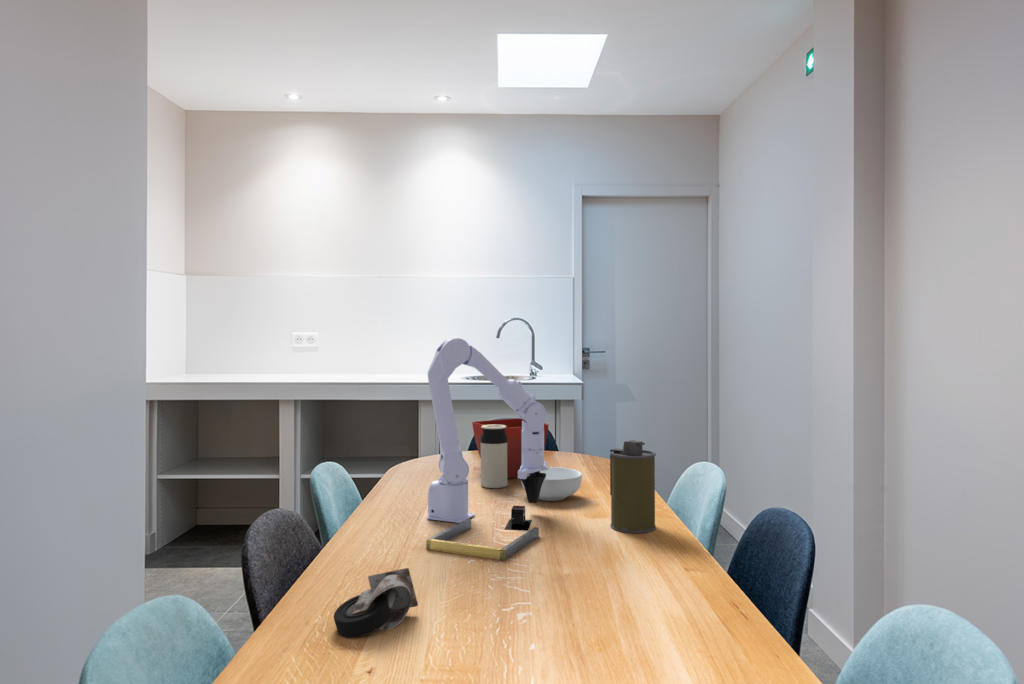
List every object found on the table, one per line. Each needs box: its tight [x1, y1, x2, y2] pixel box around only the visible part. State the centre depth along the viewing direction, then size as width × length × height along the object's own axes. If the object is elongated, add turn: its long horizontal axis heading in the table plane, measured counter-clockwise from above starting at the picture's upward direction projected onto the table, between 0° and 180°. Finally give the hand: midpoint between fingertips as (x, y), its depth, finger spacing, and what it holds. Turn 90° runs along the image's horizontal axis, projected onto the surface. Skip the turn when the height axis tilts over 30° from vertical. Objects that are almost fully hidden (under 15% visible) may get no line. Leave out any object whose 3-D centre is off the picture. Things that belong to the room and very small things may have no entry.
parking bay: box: [425, 518, 540, 562], centre depth 146 cm, size 18×18×2 cm
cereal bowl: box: [520, 466, 583, 502], centre depth 188 cm, size 17×17×7 cm
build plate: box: [504, 505, 533, 532], centre depth 161 cm, size 12×7×5 cm, turn 172°
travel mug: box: [480, 424, 508, 489], centre depth 203 cm, size 8×8×18 cm
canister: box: [609, 439, 657, 534], centre depth 158 cm, size 11×10×20 cm
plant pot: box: [471, 417, 549, 480], centre depth 220 cm, size 19×19×17 cm
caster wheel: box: [333, 567, 419, 639], centre depth 104 cm, size 7×11×10 cm
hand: (532, 502), depth 171 cm, fingers closed
